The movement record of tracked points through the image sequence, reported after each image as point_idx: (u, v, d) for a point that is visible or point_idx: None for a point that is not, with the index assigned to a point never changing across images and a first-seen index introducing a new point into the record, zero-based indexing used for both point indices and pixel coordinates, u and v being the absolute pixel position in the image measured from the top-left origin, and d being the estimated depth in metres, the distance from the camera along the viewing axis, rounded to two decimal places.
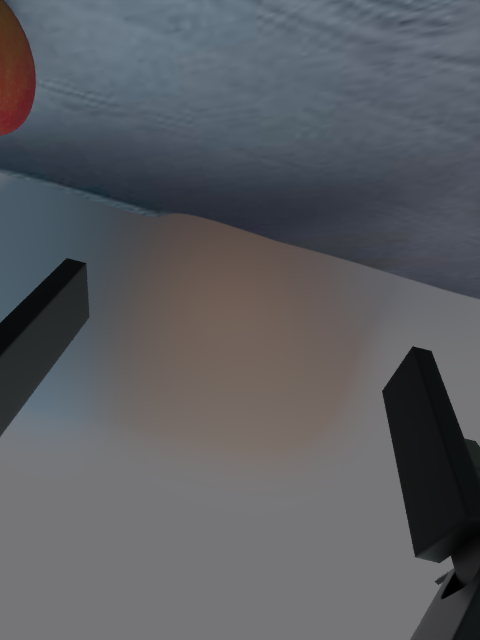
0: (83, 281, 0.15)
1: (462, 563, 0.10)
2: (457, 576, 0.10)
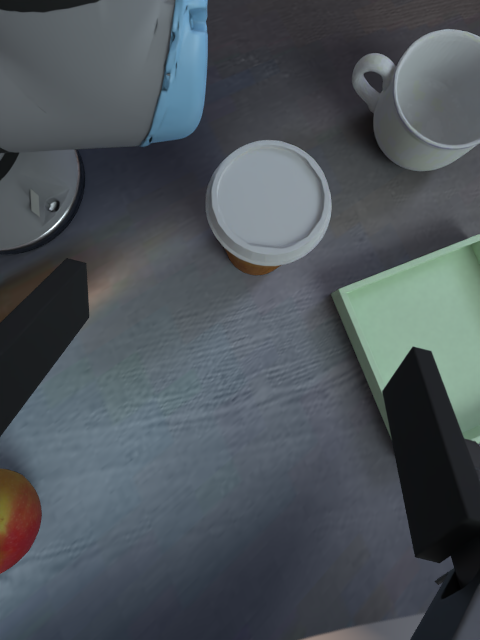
0: (83, 281, 0.15)
1: (462, 563, 0.10)
2: (457, 576, 0.10)
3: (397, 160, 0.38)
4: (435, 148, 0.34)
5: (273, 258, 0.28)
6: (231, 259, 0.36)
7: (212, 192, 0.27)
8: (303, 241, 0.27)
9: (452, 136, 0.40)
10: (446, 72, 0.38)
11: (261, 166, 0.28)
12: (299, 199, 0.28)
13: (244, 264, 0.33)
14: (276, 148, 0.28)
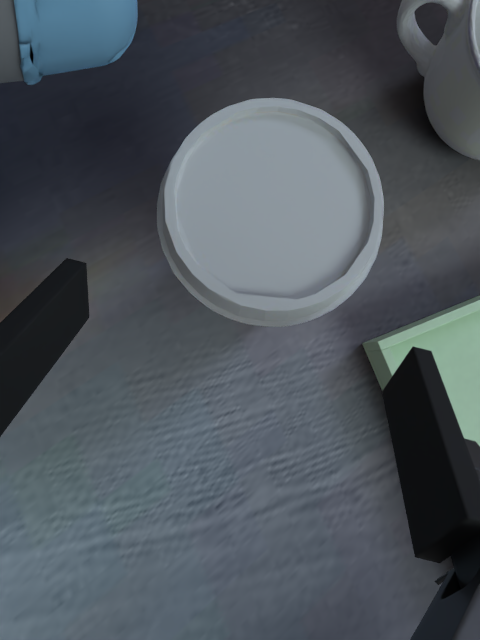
0: (83, 281, 0.15)
1: (462, 563, 0.10)
2: (457, 576, 0.10)
3: (461, 145, 0.25)
4: None
5: (280, 315, 0.15)
6: None
7: (165, 194, 0.15)
8: (336, 285, 0.15)
9: None
10: None
11: (256, 146, 0.15)
12: (327, 206, 0.15)
13: None
14: (284, 113, 0.15)
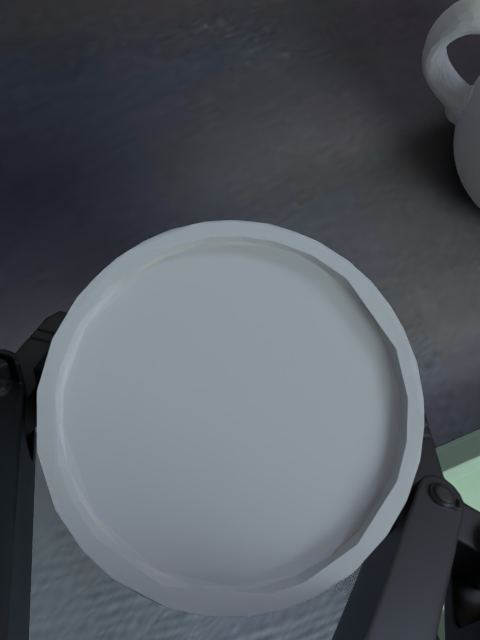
0: None
1: None
2: None
3: None
4: None
5: None
6: None
7: (39, 399, 0.08)
8: (341, 564, 0.08)
9: None
10: None
11: (205, 302, 0.09)
12: (325, 407, 0.09)
13: None
14: (253, 244, 0.09)
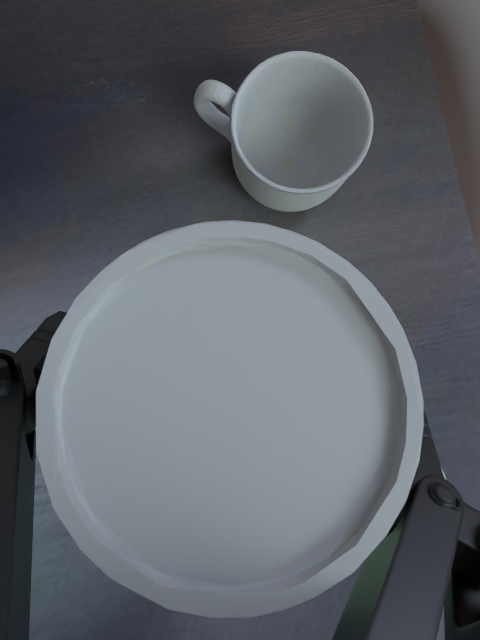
0: None
1: None
2: None
3: (258, 200, 0.33)
4: (283, 192, 0.29)
5: None
6: None
7: (38, 399, 0.08)
8: (340, 564, 0.08)
9: (329, 170, 0.35)
10: (314, 98, 0.33)
11: (204, 302, 0.09)
12: (324, 407, 0.09)
13: None
14: (253, 244, 0.09)
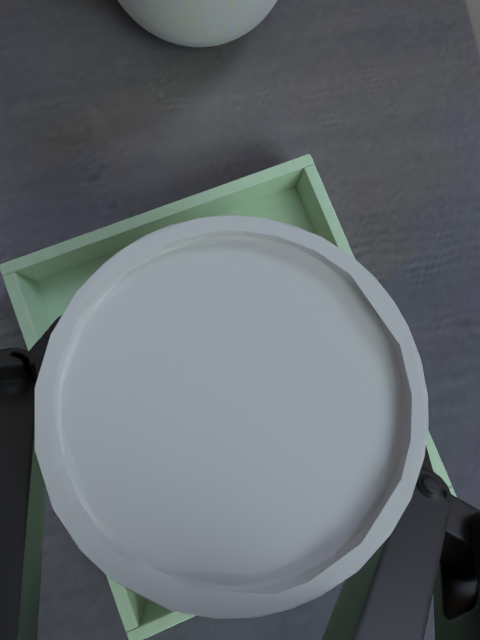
0: None
1: None
2: None
3: (139, 18, 0.20)
4: None
5: None
6: None
7: (37, 396, 0.08)
8: (345, 563, 0.08)
9: None
10: None
11: (207, 298, 0.09)
12: (328, 404, 0.09)
13: None
14: (256, 239, 0.09)
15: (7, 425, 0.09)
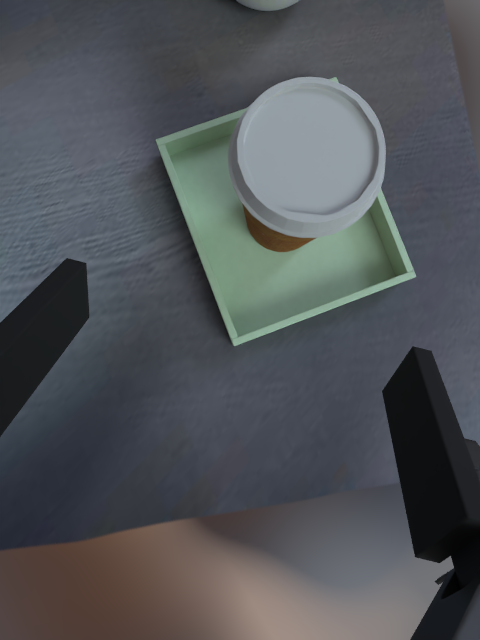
0: (83, 281, 0.15)
1: (462, 563, 0.10)
2: (457, 576, 0.10)
3: None
4: None
5: (313, 228, 0.22)
6: (253, 232, 0.31)
7: (238, 143, 0.22)
8: (351, 206, 0.22)
9: None
10: None
11: (299, 111, 0.22)
12: (346, 153, 0.22)
13: (271, 237, 0.28)
14: (318, 88, 0.22)
15: None
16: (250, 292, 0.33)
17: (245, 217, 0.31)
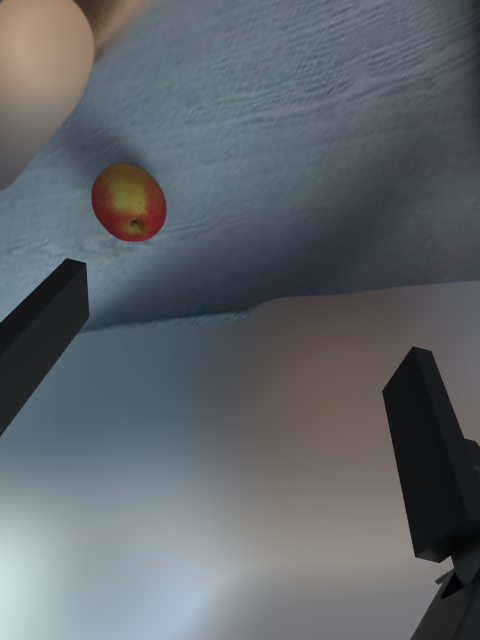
0: (83, 281, 0.15)
1: (462, 563, 0.10)
2: (457, 576, 0.11)
3: None
4: None
5: None
6: None
7: None
8: None
9: None
10: None
11: None
12: None
13: None
14: None
15: None
16: None
17: None
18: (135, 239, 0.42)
